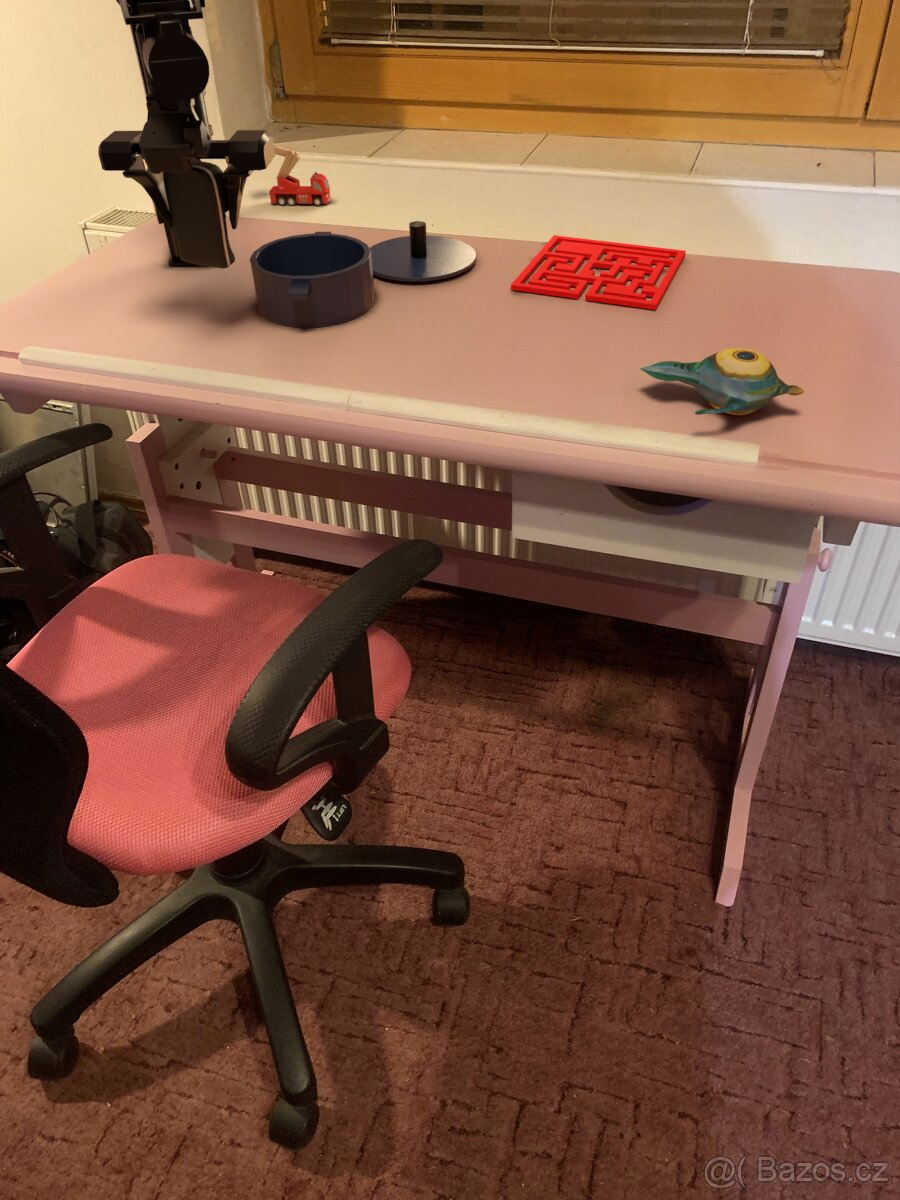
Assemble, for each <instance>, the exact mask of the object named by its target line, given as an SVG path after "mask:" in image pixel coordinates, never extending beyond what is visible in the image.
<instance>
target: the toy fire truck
mask: <svg viewBox="0 0 900 1200" xmlns="http://www.w3.org/2000/svg"><path fill="white" fill-rule="evenodd" d="M274 148H275V156H276V155H277V156H280V157H284V159H283V162H282V164H281V166H280V169H279V171H278V173H277V176H276V183H277V185H273V186H272V187H271V188H270V189H269V191H268V193H269V198H270V203H271V204H277V203H278V205H279V206H282V207H283V206H285V205H286V204H288V205H289V206H292V207H293V206H295V205H296V204H301V205H304V204H305V205H306V204H307V205H312V204H314V206H316V207H320V206H322V204H323V205H326V204H328V203H329V202H331V191H330V190H331V187H330V181H329V180H328V178H327V176H326V175H324V174H323V173H318V172H317V171H315V172H314V173H313V174H312V175H311V176H310V178H309V181H310V185H301V182H300V179H298V178H296V177H294V176H292V175H290V173H291V172H292V170H293V169H294V168H295V166H296V165H297V163H298V162H299V160H300V159H301V156H300V154H298V153H297V152H296V151H295V150H294V149H293V148H292V149H287V148H284V147H281V146H277V145H274Z"/></svg>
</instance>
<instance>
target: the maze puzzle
mask: <svg viewBox="0 0 900 1200" xmlns="http://www.w3.org/2000/svg"><path fill="white" fill-rule="evenodd" d="M558 243H559V244H558ZM557 244H558V245H557ZM556 246H557V247H556ZM555 247H556V248H555ZM554 248H555V249H554ZM553 249H554V251H552V250H553ZM686 252H687V250H684V249H674V248H666V247H657V246H650V245H641V244H634V243H623V242H617V241H616V242H615V241H607V240H598V239H591V238H590V239H589V238H581V237H575V236H574V237H573V236H572V237H571V236H566V235H565V236H564V235H555V234H554V235H553V236H552V237H550V239H549V240H548V241H547V242H546V244H545V245H544V246H543V247H542V248H541V249H540V251H538V252H537V254H536V255H535V256H534V257H533V259H531V261H530V262H529V263H528V264H527V265H526V266H525V268H524V269H523V270H522V271H521V273H519V275H518V276H517V277H516V278H515V279H514V280H513V281H512V283H510V291H518V292H526V293H533V294H541V295H547V296H554V297H562V298H568V299H576V300H578V299H579V298H580V297H581V295H583V292H584V291H585V290H586V288H587V287H588V284H592V285H591V286H590V287H589V288H588V290H587V291H586V293H585V294H584V301H589V302H590V301H591V302H596V303H597V302H598V303H604V304H611V305H619V306H625V307H634V308H639V309H640V308H641V309H646V310H647V309H648V310H653V311H654V310H655V311H656V310H657V308H658V306H659V305H660V303H661V301H662V299H663V297H664V296H665V294H666V292H667V290H668V289H669V287H670V284H671V282H672V281H673V279H674V277H675V275H676V273H677V272H678V269H679V268H680V266H681V264H682V262H683V260H684V258H685V257H686V255H687V254H686ZM604 254H605V256H604V257H603V260H600V259H601V258H602V256H603V255H604ZM670 257H674V258H670ZM544 259H546V260H545V261H544ZM585 259H587V261H586V263H585V264H584V265H583V267H582V268H581V270H580V271H578V270H579V269H580V267H581V265H582V264H583V263H584V262H585ZM613 260H615V261H613ZM542 262H543V263H542ZM569 262H572V263H571V264H569ZM632 262H634V263H636V264H632ZM541 263H542V265H541ZM540 265H541V266H540ZM553 265H555V266H554V267H553ZM653 265H655V267H654V266H653ZM539 266H540V267H539ZM538 267H539V268H538ZM552 267H553V270H552V269H551V268H552ZM665 267H668V269H667V271H666V273H665V275H664V276H663V278H662V280H661V281H660V283H659V285H658V286H655V285H656V283H657V281H658V280H659V278H660V276H661V275H662V272H663V271H664V269H665ZM537 268H538V269H537ZM593 268H598V269H607V270H609V271H600V273H599V275H598V276H597V275H596V270H594V269H593ZM536 269H537V270H536ZM535 270H536V271H535ZM534 271H535V273H534V274H533V272H534ZM577 271H578V273H576V272H577ZM620 271H621V272H622V273H621V274H620V276H619V277H618V278H616V277H617V275H618V274H619V272H620ZM532 274H533V275H532ZM531 275H532V276H531ZM646 275H649V277H648V278H647V279H644V278H645V276H646ZM530 277H531V278H530ZM529 278H530V279H529ZM543 278H545V280H543ZM528 279H529V280H528ZM527 280H528V281H527ZM526 281H527V283H525V282H526ZM628 281H631V282H630V284H629V285H626V284H627V282H628ZM603 286H605V288H604V289H603V291H602V293H599V291H600V290H601V288H602V287H603ZM571 287H574V289H571ZM639 287H640V288H642V289H641V290H640V293H639V292H637V290H638V289H639ZM647 297H650V298H651V300H647Z"/></svg>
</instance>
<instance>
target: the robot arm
mask: <svg viewBox="0 0 900 1200" xmlns="http://www.w3.org/2000/svg"><path fill="white" fill-rule="evenodd" d="M115 1H116V3H117V4H118V6H120V10H121V13H122V17H123V21H124V23H125V24H124V25H126V26H129V28H130V33H131V37H132V41H133V45H134V51H135V56H136V60H137V64H138V68H139V72H140V78H141V81H142V86H143V91H144V95H145V101H146V103H145V106H146V110H147V117H146V118H147V119H146V122H145V123H144V125H143V128H142V130H114V131H112V132H111V133H110V134H109V135H107V136H106V137H105V138H104V139H103V140H101V141H100V143H99V145H98V151H97V153H98V154H97V155H98V158H99V163H100V165H101V170H103V171H104V172H112V171H113V172H116V171H118V172H122V175H123V177H124V178H126V179H132V180H133V181H135V182H136V183H138V184H139V185H140V186H141V187H142V188H143V190H144V191H145V192H146V193H147V195H148V196H149V197H150V199H151V203H152V205H153V210H154V214H155V217H156V220H157V223H158V225H163V228H164V232H165V237H166V241H167V245H168V250H169V253H170V259H168V261H167V264H168V266H172V267H173V266H176V267H180V266H183V267H185V266H186V267H190V266H195V267H196V266H197V267H201V266H202V265H198V264H193V263H189V262H186V261H182V260H181V257H180V252H179V247H178V242H177V238H176V233H175V230H174V226H173V222H172V218H171V214H170V210H169V206H168V201H167V197H166V192H165V186H164V181H163V172H176V173H178V174H185V173H188V172H189V171H191V169H192V167H193V160H198V161H202V160H225V163H226V164H227V167H226V168H225V169H224V170H223V173H222V177H223V179H224V181H225V184H226V190H227V200H228V210H229V211H228V218H229V222H230V226H231V229H232V230H237V228H238V224H239V218H240V212H241V207H242V201H243V196H244V189H245V186H246V182H247V179H248V178H249V177H250V176H251V175H252V173H253V172H254V171H264V170H267V169H268V167H269V166H270V164H271V162H272V161H273V160H274V158H275V157H276V154H275V148H274V146H275V141H274V137H273V135H271V134H270V132H269V131H268V130H267V129H253V130H252V129H237V130H236V131H235V133H233V134H232V136H231V137H230V138H229V139H213V138H212V137H213V136H214V130H213V124H210V123H209V118H208V113H207V112H208V111H207V107H206V106H207V105H206V101H205V96H206V95H207V91H206V87H207V85H208V83H209V78H210V63H209V60H208V57H207V55H206V54H205V51H204V49H202V47H201V46H200V44H199V43H198V42H197V41H196V39H195V37H194V36H193V31H192V27H191V26H190V21H191V20H203V19H204V12H203V8H206V0H115ZM191 5H192V6H191Z"/></svg>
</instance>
